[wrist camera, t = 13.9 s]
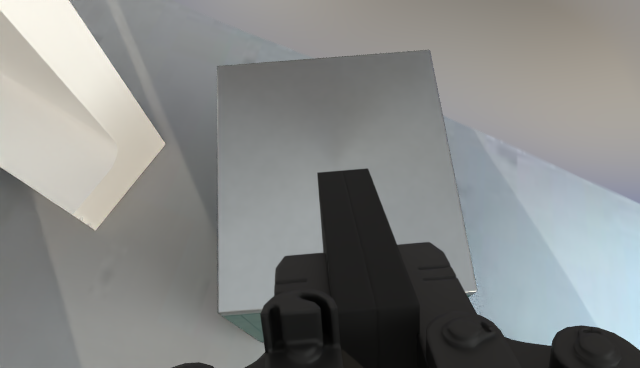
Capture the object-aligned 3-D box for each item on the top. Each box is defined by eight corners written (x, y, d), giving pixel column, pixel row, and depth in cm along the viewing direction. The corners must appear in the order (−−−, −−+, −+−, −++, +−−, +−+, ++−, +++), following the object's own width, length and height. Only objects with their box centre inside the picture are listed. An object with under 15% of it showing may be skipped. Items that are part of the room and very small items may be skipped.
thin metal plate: (219, 75, 26) (216, 65, 25) (427, 59, 26) (430, 49, 25) (221, 316, 21) (217, 313, 20) (472, 295, 21) (478, 291, 20)
